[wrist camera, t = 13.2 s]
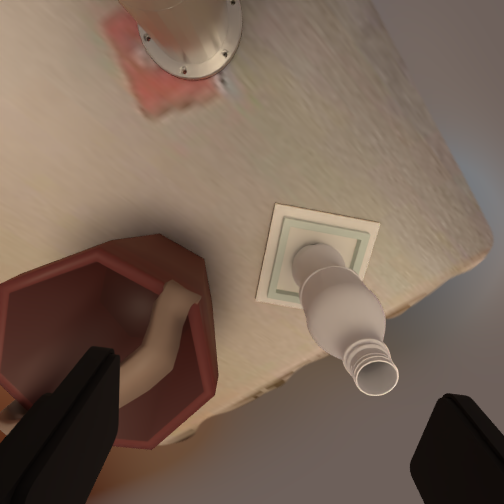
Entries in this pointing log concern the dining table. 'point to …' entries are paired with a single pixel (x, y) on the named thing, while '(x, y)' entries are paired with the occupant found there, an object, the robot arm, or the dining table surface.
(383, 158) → the dining table surface
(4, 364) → the bucket
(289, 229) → the plate
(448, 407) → the robot arm
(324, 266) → the water bottle
